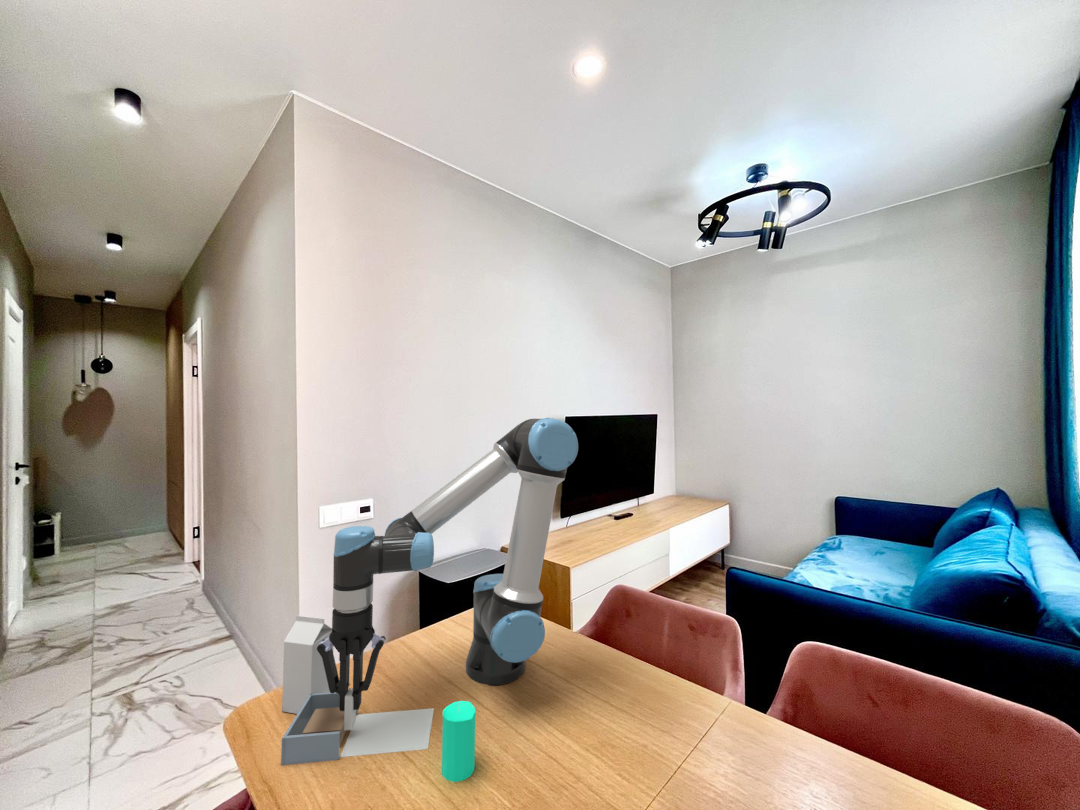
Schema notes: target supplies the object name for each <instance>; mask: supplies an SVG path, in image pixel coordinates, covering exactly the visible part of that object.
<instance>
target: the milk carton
mask: <svg viewBox="0 0 1080 810" xmlns="http://www.w3.org/2000/svg"><path fill="white" fill-rule="evenodd" d="M331 632H332V627H330V626H329V625H328V624H326V623H325V618H322V617H315V616H307V615H306V616H304V615H296V616H295V622H294V623H293V625H292V626H291V629H290V630H289V632H288V634H287V635H286V637H285V639H284V640H283V663H282V664H283V665H282V667H283V668H282V669H283V670H282V696H281V697H282V699H281V700H282V702H281V710H282V712H284V713H290V714H296V715H297V713H298V712H299V710H300V708H301V707H302V705H303V704H304V702H305V700H306V699H307V697H308V696H309V694H314V693H328V692H330V691H329V686H328V682H327V677H326V673H325V669H324V664H323V660H322V657H321V655H320V654H319V652H318V651H317V647H318V645H319V644H320V642H321V641H322V640H324V639H325V640H326V639H327V638H329V636H330V634H331ZM334 648H335V647H334V646H333V644H332V650H333V651H334Z"/></svg>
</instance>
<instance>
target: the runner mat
mask: <svg viewBox="0 0 1080 810" xmlns="http://www.w3.org/2000/svg"><path fill="white" fill-rule="evenodd" d="M434 710H435V708H433V707H432V708H422V709H408V710H395V711H383V712H371V713H370V712H369V713H361V714H357V715H356V721H355V723H354V726H353V728H352V730H349V735H348V737H347V739H346V740H345V744H344V745H343V748H342V751H341V753H340V754H339V758H346V757H358V756H360V757H361V756H368V755H369V756H370V755H379V754H389V753H401V752H411V751H412V752H413V751H421V750H428V749H429V743H430V738H431V737H430V736H431V733H432V732H431V731H432V723H433V716H434V712H435V711H434Z"/></svg>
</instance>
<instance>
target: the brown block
mask: <svg viewBox="0 0 1080 810" xmlns="http://www.w3.org/2000/svg"><path fill="white" fill-rule="evenodd" d="M344 713H345V711H340V709H339V707H336V708H323V709H315V711H314V713H313V715H312V716H311V718H310V720H309V722H308V724H307V725H306V727H305V729H304V731H303V732H302V734H313V733H325V732H337V731H340V748H342V745H343V742H344V740H345V738H346V735H347V733H348V731H349V730H344ZM340 748H339V749H340Z"/></svg>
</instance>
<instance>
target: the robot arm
mask: <svg viewBox="0 0 1080 810" xmlns="http://www.w3.org/2000/svg"><path fill="white" fill-rule="evenodd" d="M578 441H579V440H578V437H577V434H576V432H575V431H574V429H573V428H572V427H571V426H570V425H569V424H568V423H566V422H565V421H563V420H560V419H556V418H553V417H552V418H550V417H544V418H529V419H526V420H524V421H522V422H521V423H519V424H517V425H516V426H515V427H514V428H512V429H511V430H510V431H509V432H507V433H506V434H505V435H504V436H503V437H501V438H500V439H498V440H497V441H496V442H495V443H494V444H493V448H492V449H491V451H489V452H487V453H486V454H485V455H484V456H482V457H481V458H480V459H478V460H477V461H476V462H475V463H473V464H472V465H471V466H469V467H467V468H466V469H465V470H464V471H462V472H461V473H460V474H458V475H457V476H456V477H455V478H453V479H452V480H451V481H449V482H447V484H445V485H444V486H442V487H441V488H440V489H439V490H437V491H435V492H434V493H433V494H432V495H431V496H429V497H428V498H426V499H425V500H424V501H422V502H421V503H420V504H419V505H417V506H415V508H413V509H412V510H411V511H409V512H408V513H406V514H405V515H404V516H402V517H398V518H396V519H393V520H392V521H391V522H389V524H388V525H387V527H386V530H385V532H384V535H376V533H375V529H374V528H373V527H372V526H369V525H368V526H367V525H363V526H362V525H354V526H353V525H352V526H348V527H344V528H342V529H339V530H338V532H336V534H335V537H334V549H333V576H332V580H333V581H332V582H333V585H332V608H333V609H332V617H331V621H332V622H331V628H332V632H331V634H330V636H329V638H327V639H326V640H325V639H324V640H322V641H321V642H320V644H319V645H318V647H317V651H318V652H319V654H320V655H321V657H322V660H323V664H324V669H325V673H326V677H327V682H328V686H329V691H330V693H338V694H339V695H340V706H339V709H340V711H345V713H344V730H348V731H351V730H352V728H353V726H354V723H355V721H356V717H357V715H356V710H358V711H359V710H360V709H359V708H360V707H361V704H362V692H366V691H368V690H369V689H370V686H371V684H372V681H373V676H374V673H375V670H376V665H377V662H378V658H379V654H380V651H381V650H382V648H383V646H384V645H385V642H386V639H387V638H386V636H385V635H381V636H380V635H378V634H376V633H375V632H376V631H375V628H374V626H373V614H374V613H373V612H374V611H373V609H374V608H373V607H374V606H373V604H372V603H373V601H374V575H381V574H389V573H390V574H392V573H400V572H401V573H402V572H417V571H420V570H425V569H430V568H431V567H432V566H433V565H434V557H435V556H434V555H435V545H434V544H435V543H434V536H433V534H434V533H435V532H436V531H438V530H439V529H441V527H442V526H444V525H445V524H446V523H448V522H449V521H450V520H452V518H454V517H455V516H457V515H458V514H459V513H460V512H462V511H463V510H464V509H466V508H467V507H469V505H471V504H472V503H473V502H476V500H477V499H479V498H480V497H481V496H483V495H484V494H485V493H486V492H488V491H489V490H490V489H491V488H493V487H494V486H495V485H496V484H498V483H499V482H500V481H502V480H503V479H504V478H505V477H507V476H508V475H509V474H512V473H513V474H517V473H518V474H519V476H520V478H521V480H520V485H519V491H518V496H517V501H516V507H515V511H514V516H513V522H512V526H511V532H510V537H509V542H508V547H507V548H508V549H507V554H506V558H505V563H504V569H503V573H493V574H492V573H491V574H486V575H482V576H480V577H478V578H477V579H475V581H474V583H473V584H474V586H473V590H472V591H473V592H472V593H473V633H472V634H473V637H472V641H471V644H470V647H469V651H468V652H467V653H468V654H467V657H466V659H465V672H466V675H467V676H468V678H469V679H471V680H473V681H474V682H476V683H479V684H482V685H488V686H499V685H500V686H501V685H505V684H508V683H512V682H514V681H516V680H518V679H519V678H520V677H521V676H522V675H523V674H524V672H525V669H526V661H527V660H529V659H530V658H531V657H532V656H533V655H536V653H537V652H538V651H539V650H540V649H541V647H542V645H543V643H544V640H545V636H546V627H545V624H544V621H543V619H542V617H541V615H542V614H541V613H542V608H543V601H544V594H543V593H542V592H541V589H540V588H539V587H540V580H541V576H542V571H543V564H544V559H545V554H546V550H547V549H546V548H547V544H548V537H549V531H550V527H551V521H552V520H551V519H552V516H553V510H554V505H555V501H556V500H555V498H556V493H557V488H558V485H559V484H561V483H562V482H563V481H565V479H566V475H567V470H568V468H569V466H571V465H572V464H573V463H574V462H575V460H576V458H577V456H578V452H579V442H578ZM370 642H371V648H372V652H371V655H370V657H369V661H368V665H367V669H366V673H365V677H364V680H363V672H364V671H363V670H364V667H363V666H364V651H365V649H366V648H367V647H368V645H369V644H370ZM332 644H333V646H334V647H333V648H334V649H336V650H337V652H338V653H339V659H338V660H339V671H338V669H337V664H336V660H335V656H334V649H333V650H332ZM351 655H352V661H353V663H352V664H353V666H352V667H353V668H352V671H353V672H352V673H353V674H352V687H351V688H350V685H351V683H350V665H351V664H350V661H351V660H350V659H351V658H350V657H351ZM338 672H339V673H338Z"/></svg>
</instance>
